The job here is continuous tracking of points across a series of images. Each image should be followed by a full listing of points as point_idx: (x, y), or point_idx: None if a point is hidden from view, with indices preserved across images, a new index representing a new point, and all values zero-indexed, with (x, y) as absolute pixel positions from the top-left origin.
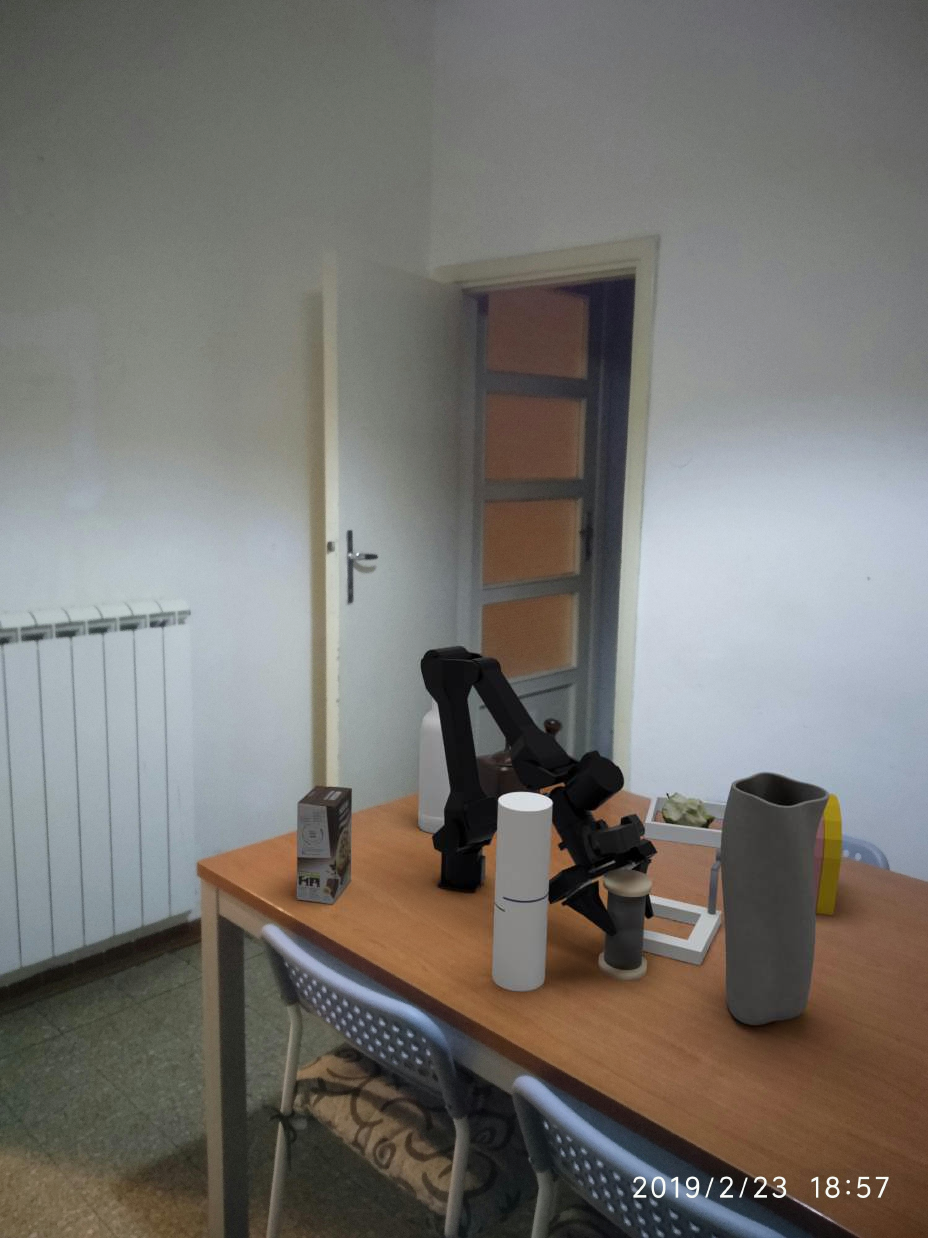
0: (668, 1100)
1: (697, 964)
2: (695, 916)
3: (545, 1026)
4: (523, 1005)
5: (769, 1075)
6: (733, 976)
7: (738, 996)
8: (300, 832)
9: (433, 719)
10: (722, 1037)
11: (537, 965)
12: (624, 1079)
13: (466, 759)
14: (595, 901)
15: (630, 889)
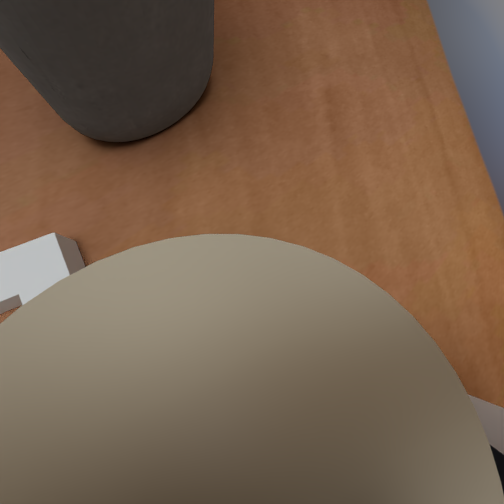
0: (417, 73)
1: (76, 246)
2: None
3: (469, 278)
4: (472, 350)
5: (273, 17)
6: (207, 3)
7: (213, 32)
8: None
9: None
10: (254, 93)
11: (476, 402)
12: (439, 128)
13: None
14: (497, 457)
15: (384, 310)
